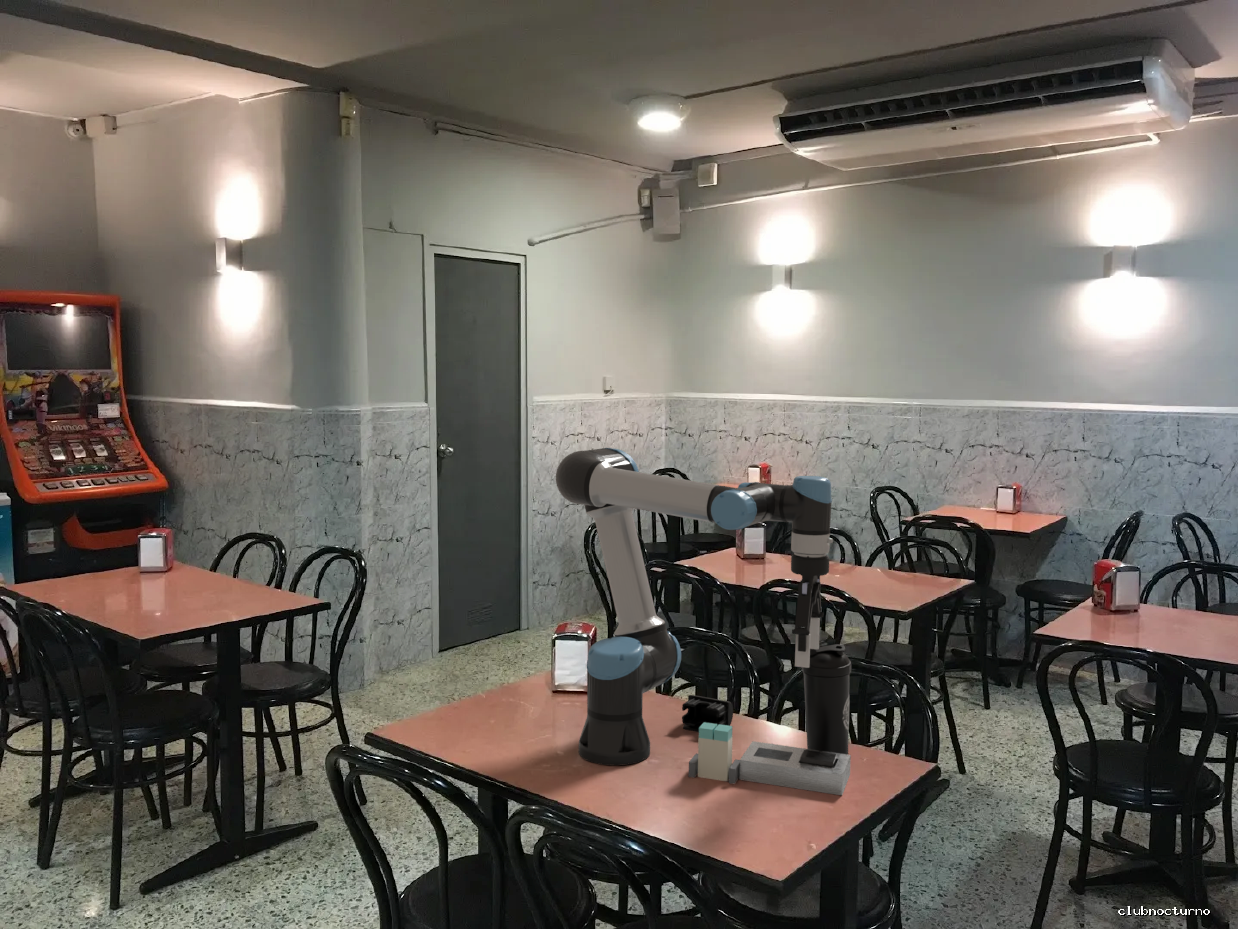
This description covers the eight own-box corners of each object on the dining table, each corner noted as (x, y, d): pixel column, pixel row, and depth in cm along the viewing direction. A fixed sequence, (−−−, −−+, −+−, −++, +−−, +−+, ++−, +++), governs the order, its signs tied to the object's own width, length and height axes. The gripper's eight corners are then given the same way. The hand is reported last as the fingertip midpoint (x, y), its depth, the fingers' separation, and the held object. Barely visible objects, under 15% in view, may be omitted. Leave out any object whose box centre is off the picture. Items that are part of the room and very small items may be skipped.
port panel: (739, 779, 194) (739, 755, 194) (752, 760, 205) (752, 736, 204) (842, 795, 187) (842, 770, 187) (850, 774, 198) (850, 750, 197)
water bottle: (853, 763, 203) (851, 653, 201) (802, 760, 205) (800, 652, 203) (851, 744, 213) (850, 640, 211) (803, 742, 215) (801, 639, 213)
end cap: (733, 727, 224) (733, 698, 224) (720, 737, 218) (721, 707, 218) (693, 720, 229) (693, 691, 229) (680, 729, 223) (680, 699, 222)
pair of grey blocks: (688, 776, 196) (688, 762, 195) (695, 767, 200) (695, 753, 200) (734, 784, 192) (735, 769, 192) (740, 774, 197) (741, 760, 197)
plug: (697, 777, 196) (698, 727, 195) (702, 770, 199) (703, 722, 198) (727, 781, 194) (728, 732, 193) (731, 775, 197) (732, 726, 196)
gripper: (821, 566, 184) (817, 677, 186) (836, 545, 208) (833, 643, 209) (780, 563, 186) (777, 672, 188) (800, 542, 210) (798, 639, 212)
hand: (807, 657), depth 199 cm, fingers open, 13 cm apart
